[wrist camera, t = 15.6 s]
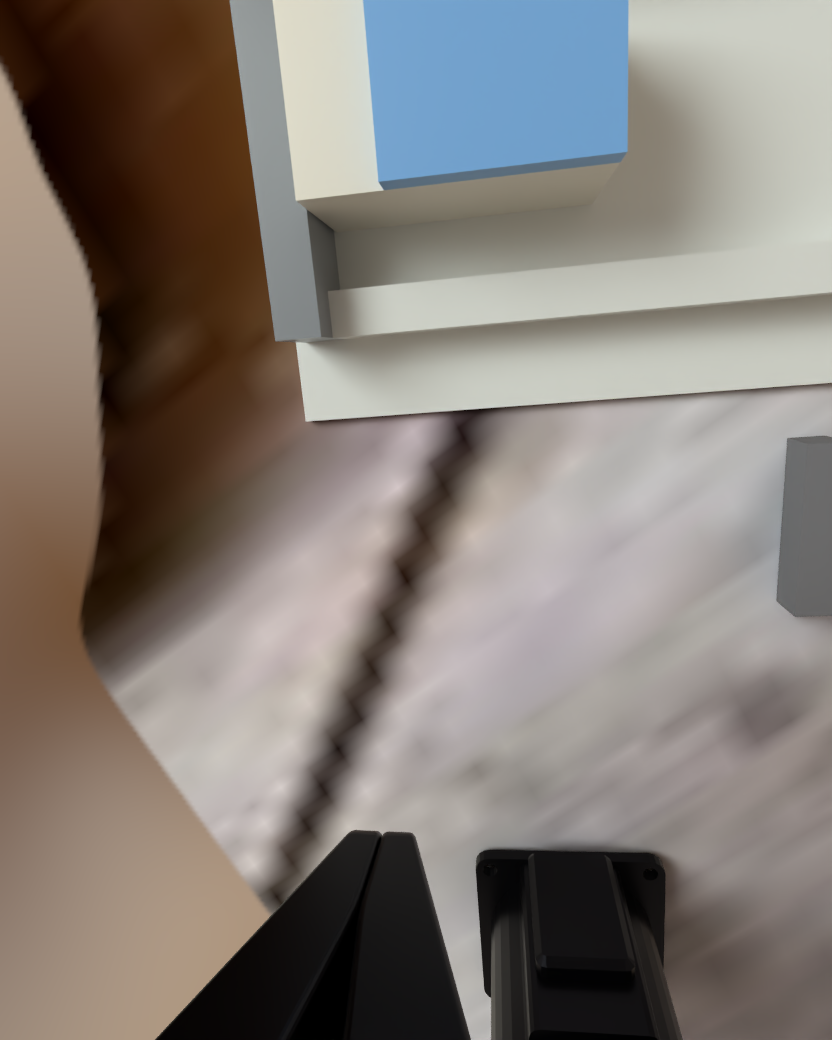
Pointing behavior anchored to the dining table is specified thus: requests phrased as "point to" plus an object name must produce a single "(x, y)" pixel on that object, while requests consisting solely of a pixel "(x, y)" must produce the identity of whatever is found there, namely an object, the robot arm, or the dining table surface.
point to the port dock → (583, 239)
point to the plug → (451, 106)
